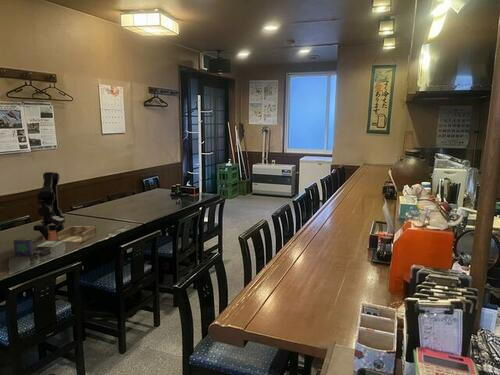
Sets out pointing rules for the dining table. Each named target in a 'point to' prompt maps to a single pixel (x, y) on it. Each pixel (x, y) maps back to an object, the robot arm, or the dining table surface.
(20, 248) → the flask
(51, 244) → the plate
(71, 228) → the hinoki box
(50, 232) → the block
